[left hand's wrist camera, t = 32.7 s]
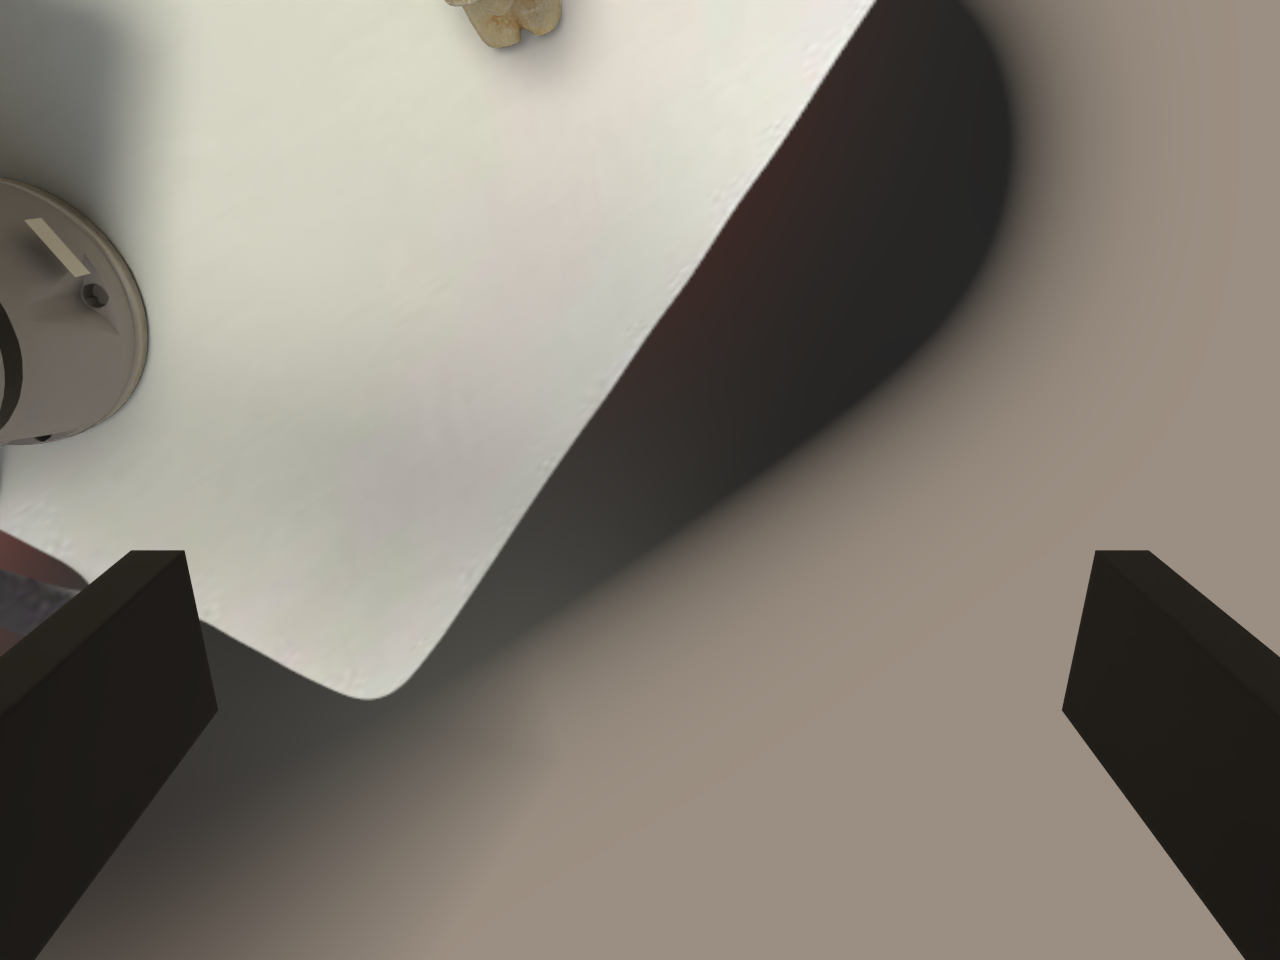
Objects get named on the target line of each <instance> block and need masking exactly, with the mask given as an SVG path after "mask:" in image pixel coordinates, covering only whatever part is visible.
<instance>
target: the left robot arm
mask: <svg viewBox="0 0 1280 960" xmlns="http://www.w3.org/2000/svg"><path fill="white" fill-rule="evenodd" d="M146 353H147V323H146V317H145V311H144V307H143V304H142V300H141V297H140V294H139V291H138V289H137V286H136V284H135V281H134V279H133V277H132V275H131V273H130V271H129V269H128V268H127V266H126V264H125V263H124V261H123V259H122V258H121V256H120V255H119V253H118V252H117V251H116V249H115V248H114V247H113V245H112V244H111V243H110V242H109V240H108V239H107V238H106V237H105V236H104V235H103V234H102V233H101V232H100V231H99V229H98V228H97V227H96V226H95V225H94V224H92V223H91V222H90V221H89V220H88V219H87V218H86V217H85V216H83V215H82V214H81V213H79V212H78V211H77V210H75V209H74V208H73V207H71V206H70V205H68V204H67V203H65V202H64V201H62V200H60V199H59V198H57V197H55V196H53V195H51V194H49V193H47V192H46V191H43V190H41V189H39V188H36V187H34V186H31V185H28V184H25V183H22V182H19V181H15V180H11V179H6V178H0V446H1V445H5V444H10V445H30V444H41V443H48V442H52V441H57V440H60V439H63V438H67V437H71V436H74V435H76V434H79V433H81V432H83V431H85V430H87V429H89V428H91V427H93V426H95V425H97V424H98V423H100V422H102V421H104V420H105V419H107V418H108V417H110V416H111V415H113V414H114V413H115V412H116V411H117V410H118V409H119V408H121V406H122V405H123V404H124V403H125V402H126V401H127V400H128V398H129V397H130V395H131V394H132V392H133V391H134V389H135V387H136V385H137V383H138V381H139V379H140V376H141V374H142V371H143V368H144V364H145V360H146ZM217 711H218V708H217V703H216V698H215V693H214V689H213V684H212V679H211V674H210V670H209V665H208V660H207V655H206V651H205V646H204V641H203V636H202V632H201V627H200V622H199V617H198V613H197V608H196V603H195V598H194V594H193V589H192V584H191V579H190V575H189V570H188V565H187V560H186V556H185V551H184V550H131V551H130V552H129V553H128V554H126V555H125V556H124V557H123V558H121V559H120V560H119V561H118V562H116V563H115V564H114V565H113V566H112V567H110V568H109V569H108V570H107V571H105V572H104V573H103V574H102V575H101V576H99V577H98V578H97V579H96V580H94V581H93V582H92V583H91V584H89V585H88V586H87V587H86V588H85V589H83V590H82V591H81V592H80V593H78V594H77V595H76V596H75V597H73V598H72V599H71V600H70V601H69V602H67V603H66V604H65V605H64V606H62V607H61V608H60V609H59V610H58V611H56V612H55V613H54V614H53V615H51V616H50V617H49V618H48V619H46V620H45V621H44V622H43V623H42V624H40V625H39V626H38V627H37V628H35V629H34V630H33V631H32V632H31V633H29V634H28V635H27V636H26V637H24V638H23V639H22V640H21V641H20V642H18V643H17V644H16V645H15V646H13V647H12V648H11V649H10V650H8V651H7V652H6V653H5V654H3V655H2V656H1V657H0V960H35V959H36V957H37V956H38V955H39V953H40V952H41V950H42V949H43V948H44V946H45V945H46V944H47V942H48V941H49V940H50V938H51V937H52V936H53V934H54V933H55V931H56V930H57V929H58V927H59V926H60V925H61V923H62V922H63V921H64V919H65V918H66V917H67V915H68V914H69V912H70V911H71V910H72V908H73V907H74V906H75V904H76V903H77V902H78V900H79V899H80V897H81V896H82V895H83V893H84V892H85V891H86V889H87V888H88V887H89V885H90V884H91V882H92V881H93V880H94V878H95V877H96V876H97V874H98V873H99V872H100V870H101V869H102V867H103V866H104V865H105V863H106V862H107V861H108V859H109V858H110V857H111V855H112V854H113V853H114V851H115V850H116V848H117V847H118V846H119V844H120V843H121V842H122V840H123V839H124V838H125V836H126V835H127V834H128V832H129V831H130V829H131V828H132V827H133V825H134V824H135V823H136V821H137V820H138V819H139V817H140V816H141V814H142V813H143V812H144V810H145V809H146V808H147V806H148V805H149V804H150V802H151V801H152V799H153V798H154V797H155V795H156V794H157V793H158V791H159V790H160V789H161V787H162V786H163V785H164V783H165V782H166V780H167V779H168V778H169V776H170V775H171V774H172V772H173V771H174V769H175V768H176V767H177V765H178V764H179V763H180V761H181V760H182V759H183V757H184V756H185V755H186V753H187V752H188V751H189V749H190V748H191V746H192V745H193V744H194V742H195V741H196V740H197V738H198V737H199V736H200V734H201V733H202V731H203V730H204V729H205V727H206V726H207V725H208V723H209V722H210V721H211V719H212V718H213V717H214V715H215V714H216V712H217ZM1062 711H1063V712H1064V714H1065V715H1066V716H1067V718H1068V719H1069V721H1070V722H1071V723H1072V725H1073V726H1074V727H1075V729H1076V730H1077V731H1078V733H1079V734H1080V735H1081V737H1082V738H1083V740H1084V741H1085V742H1086V744H1087V745H1088V746H1089V748H1090V749H1091V751H1092V752H1093V753H1094V755H1095V756H1096V757H1097V759H1098V760H1099V761H1100V763H1101V764H1102V765H1103V767H1104V768H1105V770H1106V771H1107V772H1108V774H1109V775H1110V776H1111V778H1112V779H1113V780H1114V782H1115V783H1116V785H1117V786H1118V787H1119V789H1120V790H1121V791H1122V793H1123V794H1124V795H1125V797H1126V798H1127V800H1128V801H1129V802H1130V804H1131V805H1132V806H1133V808H1134V809H1135V810H1136V812H1137V813H1138V814H1139V816H1140V817H1141V819H1142V820H1143V821H1144V823H1145V824H1146V825H1147V827H1148V828H1149V829H1150V831H1151V832H1152V833H1153V835H1154V836H1155V838H1156V839H1157V840H1158V842H1159V843H1160V844H1161V846H1162V847H1163V848H1164V850H1165V851H1166V853H1167V854H1168V855H1169V857H1170V858H1171V859H1172V861H1173V862H1174V863H1175V865H1176V866H1177V868H1178V869H1179V870H1180V872H1181V873H1182V874H1183V876H1184V877H1185V878H1186V880H1187V881H1188V882H1189V884H1190V885H1191V887H1192V888H1193V889H1194V891H1195V892H1196V893H1197V895H1198V896H1199V897H1200V899H1201V900H1202V901H1203V903H1204V904H1205V906H1206V907H1207V908H1208V910H1209V911H1210V912H1211V914H1212V915H1213V916H1214V918H1215V919H1216V921H1217V922H1218V923H1219V925H1220V926H1221V927H1222V929H1223V930H1224V931H1225V933H1226V934H1227V936H1228V937H1229V938H1230V940H1231V941H1232V942H1233V944H1234V945H1235V946H1236V948H1237V949H1238V951H1239V952H1240V953H1241V955H1242V956H1243V957H1244V959H1245V960H1280V657H1279V656H1278V655H1277V654H1275V653H1274V652H1273V651H1272V650H1270V649H1269V648H1268V647H1267V646H1265V645H1264V644H1263V643H1262V642H1260V641H1259V640H1258V639H1257V638H1256V637H1254V636H1253V635H1252V634H1251V633H1249V632H1248V631H1247V630H1246V629H1245V628H1243V627H1242V626H1241V625H1240V624H1238V623H1237V622H1236V621H1235V620H1234V619H1232V618H1231V617H1230V616H1229V615H1227V614H1226V613H1225V612H1224V611H1222V610H1221V609H1220V608H1219V607H1218V606H1216V605H1215V604H1214V603H1213V602H1211V601H1210V600H1209V599H1208V598H1206V597H1205V596H1204V595H1203V594H1202V593H1200V592H1199V591H1198V590H1197V589H1195V588H1194V587H1193V586H1192V585H1191V584H1189V583H1188V582H1187V581H1186V580H1184V579H1183V578H1182V577H1181V576H1179V575H1178V574H1177V573H1176V572H1175V571H1173V570H1172V569H1171V568H1170V567H1168V566H1167V565H1166V564H1165V563H1164V562H1162V561H1161V560H1160V559H1159V558H1157V557H1156V556H1155V555H1154V554H1152V553H1151V552H1150V551H1148V550H1096V551H1095V556H1094V560H1093V565H1092V570H1091V575H1090V579H1089V584H1088V589H1087V594H1086V599H1085V603H1084V608H1083V613H1082V617H1081V622H1080V627H1079V632H1078V636H1077V641H1076V646H1075V651H1074V655H1073V660H1072V665H1071V670H1070V674H1069V679H1068V684H1067V689H1066V693H1065V698H1064V703H1063V708H1062Z"/></svg>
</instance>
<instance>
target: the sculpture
mask: <svg viewBox="0 0 1280 960" xmlns="http://www.w3.org/2000/svg"><path fill="white" fill-rule="evenodd" d="M445 1H446V2H447V3H448V4H449V5H451V6H462V7H463V8H464V10H465V12H466V14H467V16H468V18H469V20H470V21H471V23H472V25H473V26H474V28H475V30H476V31H477V33H478V34H479V36H480V37H481V39H482V40H483V41H484V42H485V43H486V44H487V45H488V46H490V47H493V48H501V47H507V46H512V45H513V44H516V43H518V42H519V41H520V38H521V29H526V30H528V31H530V32H531V33H533V34H535V35H536V36H540V35H543V34H546V33H548V32H550V31H551V30H553V29H554V28H555V27H556V25H557V24H558V22H559V20H560V17H561V1H560V0H445Z"/></svg>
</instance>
